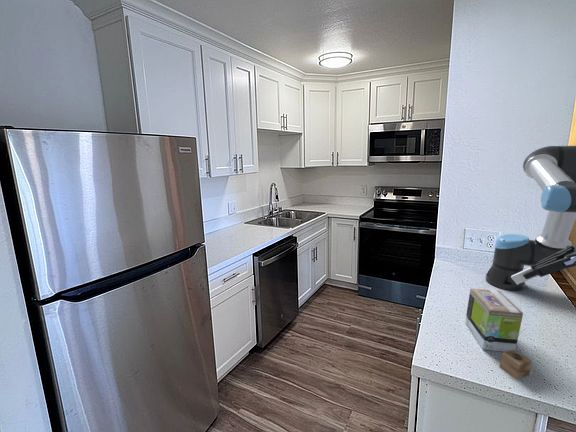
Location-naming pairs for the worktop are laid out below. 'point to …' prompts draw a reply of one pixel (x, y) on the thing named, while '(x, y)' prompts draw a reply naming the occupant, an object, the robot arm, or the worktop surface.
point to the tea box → (493, 320)
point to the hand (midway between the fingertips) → (514, 280)
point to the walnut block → (515, 364)
